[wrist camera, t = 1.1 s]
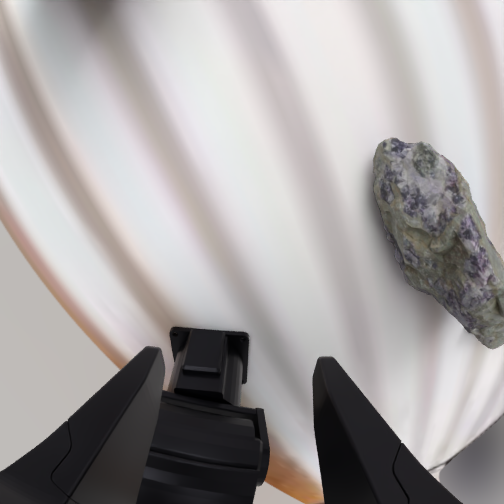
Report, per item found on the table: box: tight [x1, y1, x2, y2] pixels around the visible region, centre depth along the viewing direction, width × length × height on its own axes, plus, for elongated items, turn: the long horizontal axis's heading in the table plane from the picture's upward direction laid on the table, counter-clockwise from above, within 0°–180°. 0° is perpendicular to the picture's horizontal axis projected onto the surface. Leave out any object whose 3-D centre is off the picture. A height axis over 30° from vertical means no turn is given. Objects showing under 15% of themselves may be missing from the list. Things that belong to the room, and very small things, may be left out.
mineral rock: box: [373, 138, 504, 349], centre depth 15 cm, size 13×11×10 cm
